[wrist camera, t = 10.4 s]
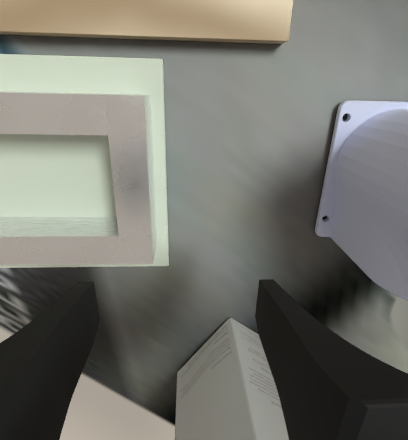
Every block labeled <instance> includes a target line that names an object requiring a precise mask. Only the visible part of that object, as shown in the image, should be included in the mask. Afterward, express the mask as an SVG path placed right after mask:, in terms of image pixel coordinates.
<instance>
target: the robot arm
mask: <svg viewBox="0 0 408 440" xmlns="http://www.w3.org/2000/svg"><path fill="white" fill-rule="evenodd" d="M344 114H347V119H346V120H345V121H343V120H342V117H343V115H344ZM324 216H327V218H326V219H325V220H322V218H323V217H324ZM315 233H316V234H317V235H318V236H319V237H330V238H331V239H332V240H333V241H334V242H335V243H336V244H337V245H338V246H339V247H340V248H341V249H342V250H343V251H344V252H345V253H346V254H347V255H348V256H349V257H350V258H351V259H352V260H353V261H354V262H355V263H356V264H357V265H358V267H359V268H360V269H361V270H362V271H363V272H364V273H365V274H366V275H367V276H368V277H369V278H370V279H371V280H372V281H374V282H375V283H376V284H378V285H379V286H380V287H382V288H384V289H385V290H387V291H389V292H391V293H392V294H394V295H396V296H399V297H401V298H403V299H405V300H408V102H392V101H343V102H342V103H341V104H340V105H339V107H338V111H337V116H336V121H335V127H334V132H333V137H332V142H331V147H330V153H329V158H328V163H327V168H326V174H325V179H324V184H323V189H322V195H321V200H320V205H319V210H318V216H317V221H316V226H315ZM255 318H256V323H257V328H258V333H259V337H260V340H261V343H262V346H263V349H264V352H265V355H266V358H267V361H268V364H269V367H270V370H271V373H272V376H273V379H274V382H275V384H276V388H277V391H278V394H279V398H280V402H281V407H282V411H283V415H284V419H285V424H286V428H287V433H288V437H289V440H408V374H407V373H405V372H403V371H400V370H398V369H396V368H394V367H392V366H390V365H388V364H386V363H384V362H382V361H380V360H378V359H376V358H374V357H373V356H371V355H369V354H367V353H365V352H364V351H362V350H360V349H359V348H357V347H355V346H354V345H352V344H350V343H349V342H347V341H346V340H344V339H343V338H341V337H340V336H338V335H337V334H335V333H334V332H332V331H331V330H330V329H328V328H327V327H326V326H324V325H323V324H322V323H320V322H319V321H318V320H317V319H315V318H314V317H313V316H312V315H310V314H309V313H308V312H307V311H306V310H305V309H304V308H302V307H301V306H300V305H299V304H298V303H297V302H296V301H295V300H294V299H293V298H292V297H291V296H289V295H288V294H287V293H286V292H285V291H284V290H283V289H282V288H281V287H280V286H279V285H278V284H277V283H276V282H275V281H274V280H259V288H258V296H257V305H256V314H255ZM98 323H99V314H98V307H97V301H96V294H95V287H94V282H79V283H78V284H76V285H75V286H74V287H73V288H72V289H70V290H69V291H68V292H67V293H66V294H65V295H63V296H62V297H61V298H60V299H59V300H58V301H56V302H55V303H54V304H53V305H52V306H50V307H49V308H48V309H47V310H46V311H44V312H43V313H42V314H40V315H39V316H38V317H37V318H35V319H34V320H33V321H31V322H30V323H29V324H27V325H26V326H25V327H23V328H22V329H21V330H19V331H18V332H16V333H15V334H13V335H12V336H11V337H9V338H8V339H6V340H4V341H3V342H1V343H0V440H59V439H60V434H61V431H62V428H63V424H64V421H65V417H66V414H67V410H68V407H69V404H70V401H71V398H72V395H73V393H74V390H75V387H76V385H77V383H78V380H79V378H80V375H81V373H82V370H83V368H84V365H85V363H86V360H87V358H88V355H89V353H90V350H91V347H92V345H93V342H94V339H95V335H96V331H97V327H98Z"/></svg>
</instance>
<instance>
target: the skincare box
mask: <svg viewBox="0 0 408 440" xmlns="http://www.w3.org/2000/svg"><path fill="white" fill-rule="evenodd" d="M175 440H289V437H288V433H287V428H286V424H285V419H284V415H283V411H282V407H281V402H280V398H279V394H278V391H277V388H276V384H275V382H274V379H273V376H272V373H271V370H270V367H269V364H268V361H267V358H266V355H265V352H264V349H263V346H262V343H261V340H260V337H259V334H257V333H255V332H254V331H252V330H250V329H249V328H247V327H246V326H244V325H242V324H241V323H239V322H237V321H236V320H234V319H232V318H229V319H228V320H227V321H226V322H225V323H224V324H223V325H222V326H221V327H220V328H219V329H218V330H217V331H216V332H215V333H214V334H213V336H212V337H211V338H210V339H209V340H208V341H207V342H206V343H205V344H204V345H203V346H202V347H201V348H200V349H199V350H198V351H197V352H196V353H195V354H194V355H193V356H192V358H191V359H190V360H189V361H188V362H187V363H186V364H185V365H184V366H183V367H182V368H181V369H180V370H179V371H178V372H177V394H176V421H175Z"/></svg>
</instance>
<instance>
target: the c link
mask: <svg viewBox="0 0 408 440" xmlns="http://www.w3.org/2000/svg"><path fill="white" fill-rule="evenodd" d="M0 134H44V135H108V139H109V149H110V159H111V168H112V178H113V187H114V197H115V207H116V216H117V217H0V265H77V264H153V261H154V256H155V251H156V245H157V228H156V206H155V184H154V163H153V141H152V119H151V98H150V95H149V94H106V93H63V92H20V91H0Z"/></svg>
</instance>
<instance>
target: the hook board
mask: <svg viewBox="0 0 408 440" xmlns="http://www.w3.org/2000/svg"><path fill="white" fill-rule="evenodd" d="M292 6H293V0H0V34H2V35H32V36H62V37H92V38H122V39H152V40H181V41H211V42H241V43H271V44H283V43H285V42H287V41H288V40H289V31H290V23H291V14H292Z"/></svg>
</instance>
